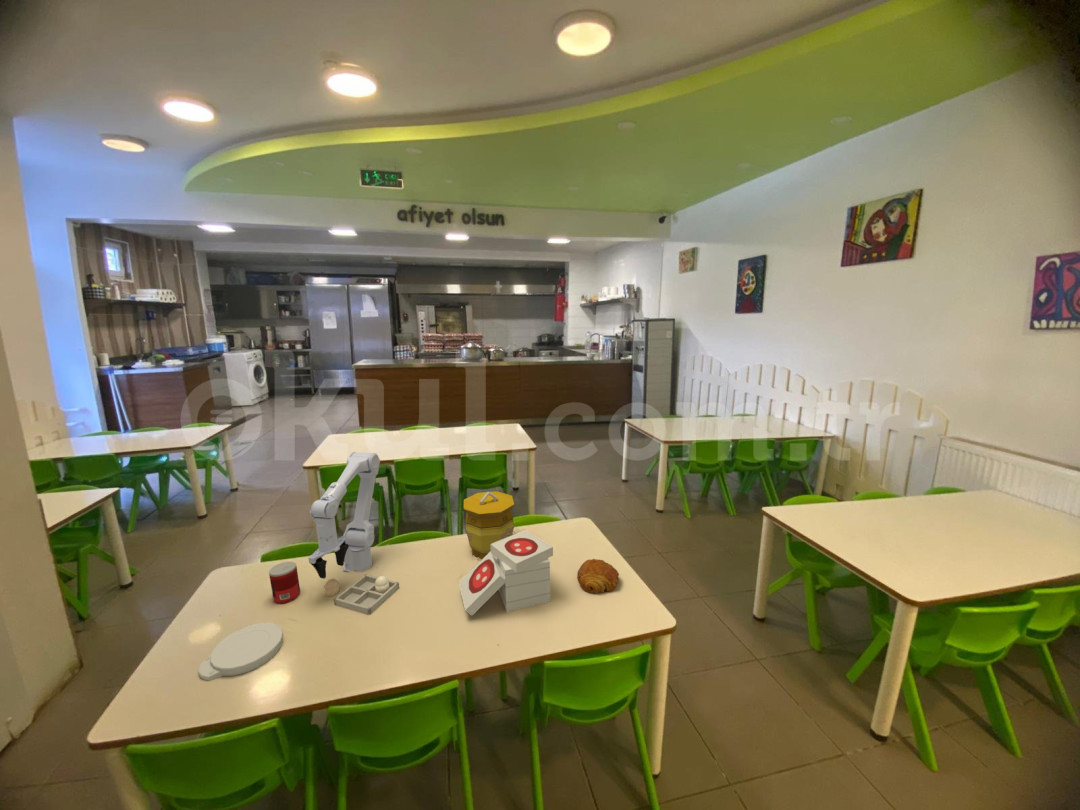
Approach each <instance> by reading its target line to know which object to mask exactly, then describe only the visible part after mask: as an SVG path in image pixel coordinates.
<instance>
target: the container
mask: <svg viewBox="0 0 1080 810" xmlns="http://www.w3.org/2000/svg"><path fill="white" fill-rule="evenodd" d="M514 506H515V502H514V499H513V495H510V494H508V493H504V492H501V491H484V492H477V493H474V494H473V495H471V496H468V497H467V498H464V499H463V510H464V511H465V534H466V536H467V540H468V544H469V546H470V549H471V555H472V556H473V557H476V558H478V559H480V560H482V559H483V558H484V557H485V556H486V555H487V554H488V553H489V552H490V551H491V545H490V544H492V543H495V542H497V541H499V540H502V539H504V538H507V537H509V536H512V535H514V534H513V533H514V528H515V523H514V516H513V512H512V509H513V507H514Z"/></svg>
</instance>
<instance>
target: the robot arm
mask: <svg viewBox="0 0 1080 810" xmlns="http://www.w3.org/2000/svg"><path fill="white" fill-rule="evenodd" d="M380 463H381V458H380V457H379V455H378V454H377V452H372V453H371V452H357V451H353V452H352V451H351V453H350V454H349V456H348V457H347V459H346V466H345V468H344V470H343V471H342V472H341V475H340V476H339V478H338V479H337V481H334V482H331V484H330V485H329V486H328V487H327V489H326V490H325V492H324V493H323V495H321V497H320V498H319V499H317V500H315V501H314V502H312V504H311V505H310V506H311V507H310V510H309V516H310V517H311V518H312V520H313V522H314V523H315V527H316V528H315V529H316V537H317V542H318V548H317V549H316V550H315V551H314V552H313V553H312V554H311V555H310V556H309V557H308V563H309V564H311V566H312V567H313V568H314V569H315V571H316V573H317V575H318V578H320V579H324V580H325V579H326V578H327V571H326V567H327V561H328V560H325V559H324V558H323V557H324V556H326V555H328V554H331V553H333V552H334V555H335V561H336V564H337V566H341V567H343V566H344V568H342V569H343V571H344V572H348V573H349V572H351V571H354V572H362V571H363V572H364V571H366V570H368V569H370V568H371V567H372V566H373V560H372V549H371V547H372V545H373V544H374V541H375V526H374V525H373V523H371V522H370V520H369V519H370V513H371V507H372V506H371V505H372V501H373V495H374V490H375V483H376V477H377V476H378V474H379V469H380ZM356 476H359V478H360V481H359V487H358V493H357V499H356V504H355V511H354V515H353V520H352V521H351V522H349V523H348V524H347V525H346V527H345V531H344V532H343V535H341V536H339V537H338V534H337V526H336V519H335V516H336V515H337V513H338V510H339V506H340V502H342V500H343V497H344V496H346V494H347V492H348V491H347V490H348V489H347V486H348V485H349V484H350V483H351V481H352V480H353V479H355V477H356Z"/></svg>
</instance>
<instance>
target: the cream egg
mask: <svg viewBox="0 0 1080 810" xmlns="http://www.w3.org/2000/svg"><path fill="white" fill-rule="evenodd" d="M377 577H378V578H377V579H376V581H375V589H376V592H378V593H382V594H384V593H385V592H386V591H387V590H388V589H390V588H389V580H390V579H389V578H388V577H387V576H386V575H379V576H377Z"/></svg>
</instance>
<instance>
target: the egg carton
mask: <svg viewBox="0 0 1080 810" xmlns="http://www.w3.org/2000/svg"><path fill="white" fill-rule="evenodd" d="M378 577H379V576H374V575H369V574H364V575H363V576H362V577H360V578H359V579H358V580H356V581H355V582H354V583H352V584H351V585H350V586H349V587H347V588H346V589H345V590H344V591H342V592H341V593H340V594H338V595H336V597H335V598H333V603H334V606H337V607H341V608H343V609H344V608H345V609H349V610H352V611H355V612H358V613H361V614H362V613H363V614H366V615H372V613H373V612H374V611H376V610H377V608H379V607H380V606H381V605H382V604H384V603H385V602H386V600H388V599H389V598H390V597H391V596H392V595H393V594H394V593H396V592H397V590H399V589H400V582H397V581H394V580H391V579H388V580H389V588H390V589H388V590H387V591H386V592H385V593H384V594H382V593H378V592H376V589H375V581H376V579H377V578H378Z"/></svg>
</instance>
